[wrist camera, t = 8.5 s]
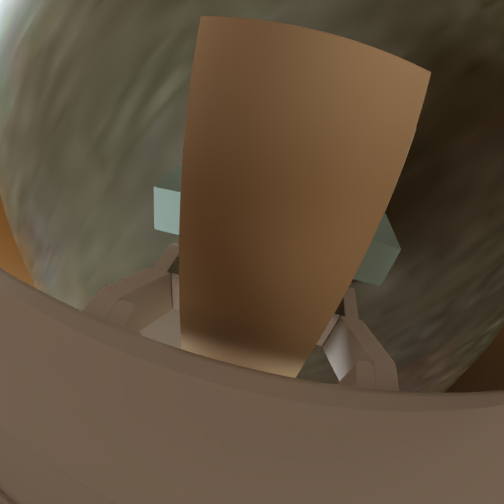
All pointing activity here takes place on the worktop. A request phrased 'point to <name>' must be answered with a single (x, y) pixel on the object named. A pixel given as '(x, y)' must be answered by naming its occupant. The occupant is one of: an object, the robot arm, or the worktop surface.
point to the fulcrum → (369, 271)
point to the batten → (283, 183)
